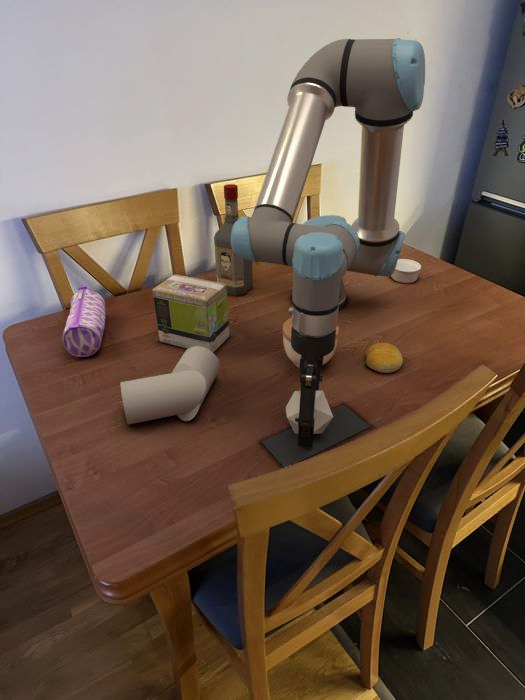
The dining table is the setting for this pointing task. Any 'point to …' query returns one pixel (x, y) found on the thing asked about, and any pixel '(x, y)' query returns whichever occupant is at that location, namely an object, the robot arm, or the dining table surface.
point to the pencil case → (84, 323)
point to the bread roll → (384, 358)
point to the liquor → (227, 263)
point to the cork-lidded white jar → (289, 350)
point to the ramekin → (406, 271)
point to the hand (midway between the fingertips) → (307, 426)
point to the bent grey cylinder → (172, 389)
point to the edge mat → (315, 437)
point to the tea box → (192, 312)
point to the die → (320, 412)
